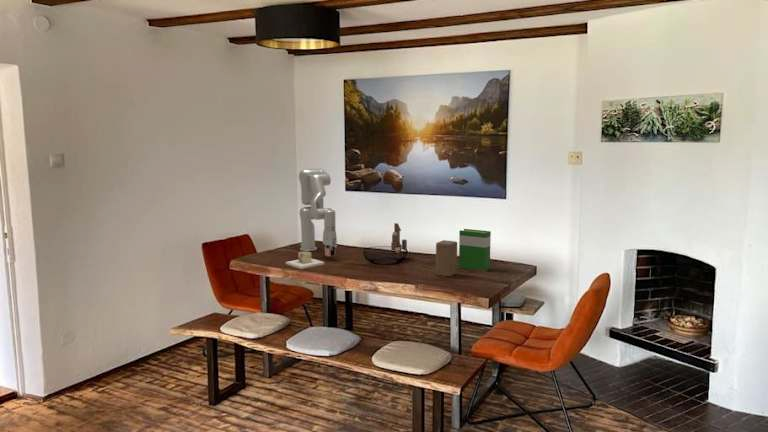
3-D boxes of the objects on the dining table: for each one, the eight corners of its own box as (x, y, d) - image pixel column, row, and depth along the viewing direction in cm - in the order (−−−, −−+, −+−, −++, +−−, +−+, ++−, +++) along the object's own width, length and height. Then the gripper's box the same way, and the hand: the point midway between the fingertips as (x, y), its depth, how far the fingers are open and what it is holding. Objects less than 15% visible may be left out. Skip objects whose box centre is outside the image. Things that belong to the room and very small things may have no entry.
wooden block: (450, 277, 331) (450, 244, 328) (435, 275, 336) (435, 242, 333) (457, 273, 339) (457, 241, 336) (442, 271, 345) (442, 239, 342)
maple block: (298, 261, 366) (298, 252, 366) (306, 260, 370) (306, 251, 370) (303, 263, 362) (303, 254, 361) (311, 261, 366) (311, 252, 365)
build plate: (285, 264, 367) (285, 261, 367) (308, 259, 379) (308, 257, 379) (301, 268, 354) (301, 266, 354) (324, 264, 366) (324, 261, 366)
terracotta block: (325, 255, 379) (324, 247, 378) (331, 253, 383) (330, 246, 382) (329, 256, 376) (329, 249, 375) (335, 255, 379) (335, 248, 378)
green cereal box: (458, 268, 354) (459, 230, 350) (464, 265, 360) (464, 228, 357) (485, 271, 344) (485, 233, 341) (489, 269, 351) (490, 231, 347)
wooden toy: (399, 262, 369) (399, 225, 365) (389, 262, 371) (389, 224, 368) (407, 257, 383) (407, 221, 379) (398, 257, 386) (398, 221, 382)
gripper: (317, 227, 380) (318, 253, 383) (333, 230, 367) (333, 257, 370) (326, 225, 385) (327, 251, 388) (342, 229, 372) (342, 256, 375)
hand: (330, 254), depth 379 cm, fingers closed on terracotta block, 5 cm apart
